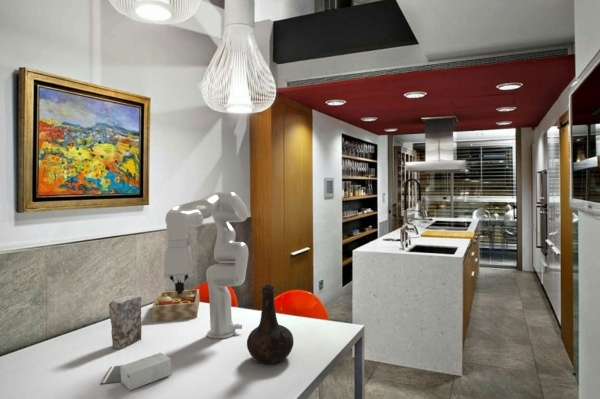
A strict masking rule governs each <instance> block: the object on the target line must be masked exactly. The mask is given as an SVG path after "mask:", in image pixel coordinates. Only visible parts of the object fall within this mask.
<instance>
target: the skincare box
mask: <svg viewBox="0 0 600 399" xmlns="http://www.w3.org/2000/svg"><path fill="white" fill-rule="evenodd" d="M171 360H172V359H171V358H170V357H168V355H165V354H164V353H162V352H158V353H155V354H152V355H150V356H146V357H144V358H141V359H138V360H136V361H131V362H129V363H126V364H123V366H120V365H119V366H120V371H121V382H120V383H121V384H123V385H124V386H125V387H126V388H127V389H128V390H130V391H132V390H136V389H137V388H139V387H143V386H145V385H148V384H150V383H153V382H156V381H158V380H160V379H163V378H166V377H168V376H171V375H172V361H171Z"/></svg>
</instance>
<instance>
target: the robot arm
mask: <svg viewBox="0 0 600 399" xmlns="http://www.w3.org/2000/svg"><path fill="white" fill-rule="evenodd" d="M248 216H249V210H248V208H247V205H246V204H245V202H244V201H243V200H242V199H241V197H240V196H239V195H238V194H236V193H235V192H234V191H221V192H220V191H218V192H211V193H209V194H208V195H206V196H204V197H202V198H200V199H197V200H193V201H190V202H187V203H182V204H179V205H177V206H174V207H173V208H171V209H169V210H168V211H167V213H166V215H165V224H166V244H167V245H166V247H165V250H164V261H163V262H164V263H163V264H164V268H163V270H164V276H163V278H164V279H167V280H171V281H172V282H173V283H174V285H175V287H174V288H175V290H174V291H177V294H179V293H180V294H182V291H184V290H185V281H186V280H187V279H189V278H192V277H194V276H195V274H194V262H193V260H194V259H193V251H192V247H191V246H190V245H191V244H192V245H193V240H192V239H189V229H190V230H191V229H197V228H199V227H200V226H202V224H203V223H204V220H205V219H208V218H211V217H212V219H213V221H214V224H215V227H216V229H217V230H216V231H217V232H216V233H217V234H216V241H215V245H214V252H213V258H214V261H216V262H217V263H220V264H216V263H215V264H212V265H210V266H208V267H207V269H206V273H205V277H206V282H207V286H208V296H209V301H208V302H209V318H210V319H209V323H210V324H209V325H210V329H209V330H208V331H207V334H206V336H207V337H208V338H210V339H215V340H216V339H218V340H221V339H226V338H230V337H232V336H234V335H236V330H242V329H243V325H242V324H240V323H236V324H235V323H233V321H232V319H233V318H232V295H231V292H230V289H229V288H228V287H241V286H242V285H243V284H244V283H245V280H246V275H247V274H246V273H247V267H248V261H249V248H248V247H249V246H248V244H246V243H245V242H242V241H236V234H237V233H236V231H235V229H234V227H233V226H232V224H231V223H240V222H241V223H242V222H245V221H246V220H247V218H248ZM221 263H224V264H221ZM225 263H226V264H225ZM227 263H228V264H227ZM233 263H234V264H233ZM178 276H181V278H180V281H179V278H178Z"/></svg>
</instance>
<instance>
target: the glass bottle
mask: <svg viewBox="0 0 600 399" xmlns="http://www.w3.org/2000/svg"><path fill="white" fill-rule="evenodd" d="M274 287H275V285H274V284H265V285H262V286H261V290H260V291H259V293H261V296H262V297H261V300H262V301H261V311H260V312H261V313H260V320H259V324H258V326H257V327H255V328H253V329H252V330H251V331H250V333H249V334H248V337H247V339H246V348H247V351H248V352H249V355H250V356H251V357H252V358H253V359H254V360H255V361H257V362H259V363H261V364H268V365H269V364H277V363H279V362H282V361H284V360H285V359H287V357H289V355H290V353H291V352H292V350H293V347H294V343H295V342H294V336H293V333H292V332H291V330H290V329H289V328H287V327H285V326H284V325H282V324H279V322H278V318H277V313H276V307H275V306H276V305H275V293H276V291H277V290H276V289H274Z"/></svg>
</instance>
